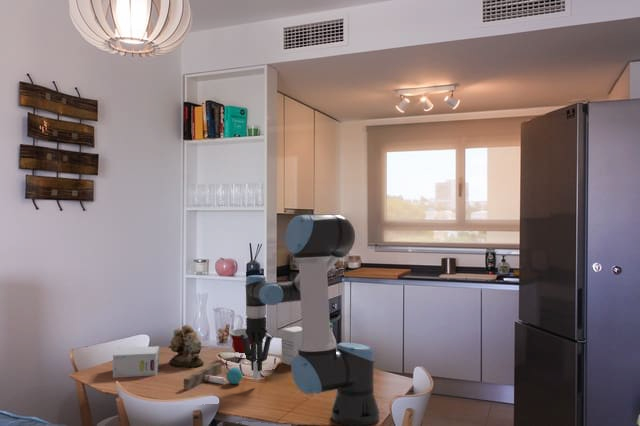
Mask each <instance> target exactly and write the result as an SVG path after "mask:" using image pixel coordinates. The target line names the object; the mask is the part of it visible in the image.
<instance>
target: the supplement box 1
mask: <svg viewBox="0 0 640 426" xmlns="http://www.w3.org/2000/svg"><path fill="white" fill-rule="evenodd" d="M159 369H160V346H159V345H157V346H137V347H136V346H134V347H133V346H132V347H117V349H116V350H115V352H114V353H113V354H112V379H113V378H114V379H115V378H129V377H130V378H131V377H132V378H133V377H147V376H157V375H158V374H157V373H158V371H159Z"/></svg>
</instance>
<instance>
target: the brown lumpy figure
mask: <svg viewBox="0 0 640 426" xmlns="http://www.w3.org/2000/svg"><path fill="white" fill-rule="evenodd" d="M197 335H198V333H197V332H196V331H195V330H194V328H193V326H191V325H189V324H185V325H183V326H182V328H179V327H178V328H175V329H174V330H173V337H172V339H171V341H170V345H168V349H171V352H173V353H177V354H176V355H174V356H173V357H172V358H171V359H170V360H169V363H168V364H169V365H170V366H172V367H174V368H178V369H179V368H180V369H193V368H199V367H200V368H201V367H202V366H204V363H205V362H204V360H202V359H201V358H199V357H200V353H201V350H202V341H201V340H200V339H199V337H198V336H197Z"/></svg>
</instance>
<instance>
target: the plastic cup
mask: <svg viewBox="0 0 640 426" xmlns="http://www.w3.org/2000/svg"><path fill="white" fill-rule="evenodd" d="M246 329H247V328H237V329H232V330H231V331H230V332H229V335H230V337H231V339H232V345H233V350H234V353H235V352H239V353H245V350H244V346H243V341H242V339H241V338H240V335H242V334H244V333H245V332H246ZM248 341H249V345H250V346H251V344H250V339H249V337H248Z"/></svg>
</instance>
